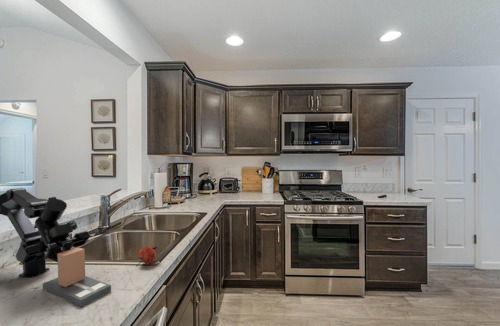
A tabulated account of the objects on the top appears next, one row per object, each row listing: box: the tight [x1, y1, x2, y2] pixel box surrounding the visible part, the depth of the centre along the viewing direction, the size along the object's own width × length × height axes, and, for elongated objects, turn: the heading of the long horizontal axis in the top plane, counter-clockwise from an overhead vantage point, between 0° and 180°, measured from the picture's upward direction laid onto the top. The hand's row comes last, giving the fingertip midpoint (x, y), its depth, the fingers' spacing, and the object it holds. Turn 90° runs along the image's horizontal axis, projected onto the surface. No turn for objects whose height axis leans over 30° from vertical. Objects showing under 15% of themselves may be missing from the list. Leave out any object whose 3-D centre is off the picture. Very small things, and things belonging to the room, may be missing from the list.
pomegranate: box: [135, 246, 158, 267], centre depth 96 cm, size 7×7×10 cm
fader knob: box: [57, 247, 86, 287], centre depth 78 cm, size 4×6×10 cm, turn 154°
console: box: [41, 275, 112, 308], centre depth 77 cm, size 22×9×2 cm, turn 64°
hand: (68, 266), depth 79 cm, fingers closed, pressing on fader knob
